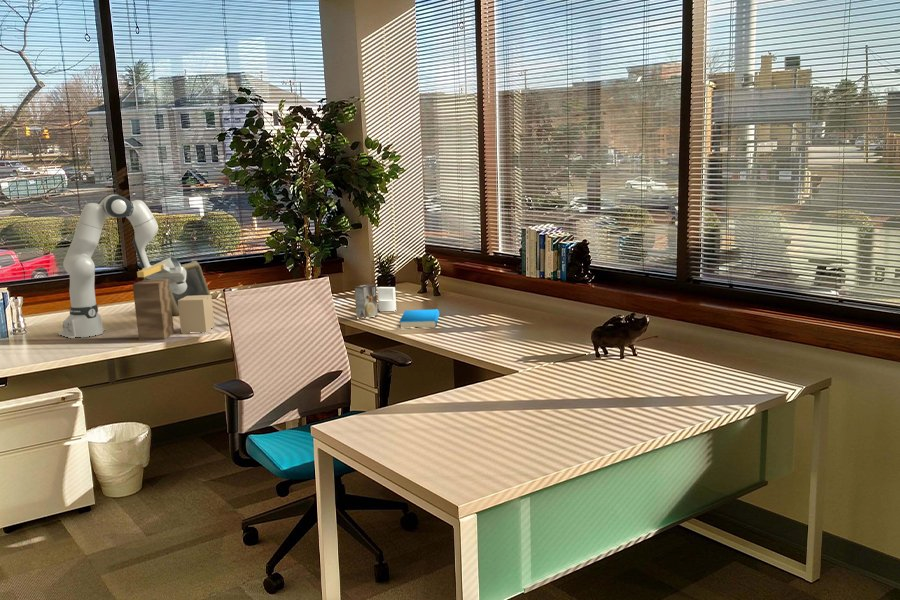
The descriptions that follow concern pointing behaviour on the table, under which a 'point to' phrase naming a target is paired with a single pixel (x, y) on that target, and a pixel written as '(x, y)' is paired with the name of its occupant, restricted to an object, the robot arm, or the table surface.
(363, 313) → the coffee box
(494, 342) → the table surface
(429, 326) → the book
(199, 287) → the grey open box
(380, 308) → the white recessed box
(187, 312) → the cardboard box
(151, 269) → the tan wooden beam
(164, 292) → the walnut post
